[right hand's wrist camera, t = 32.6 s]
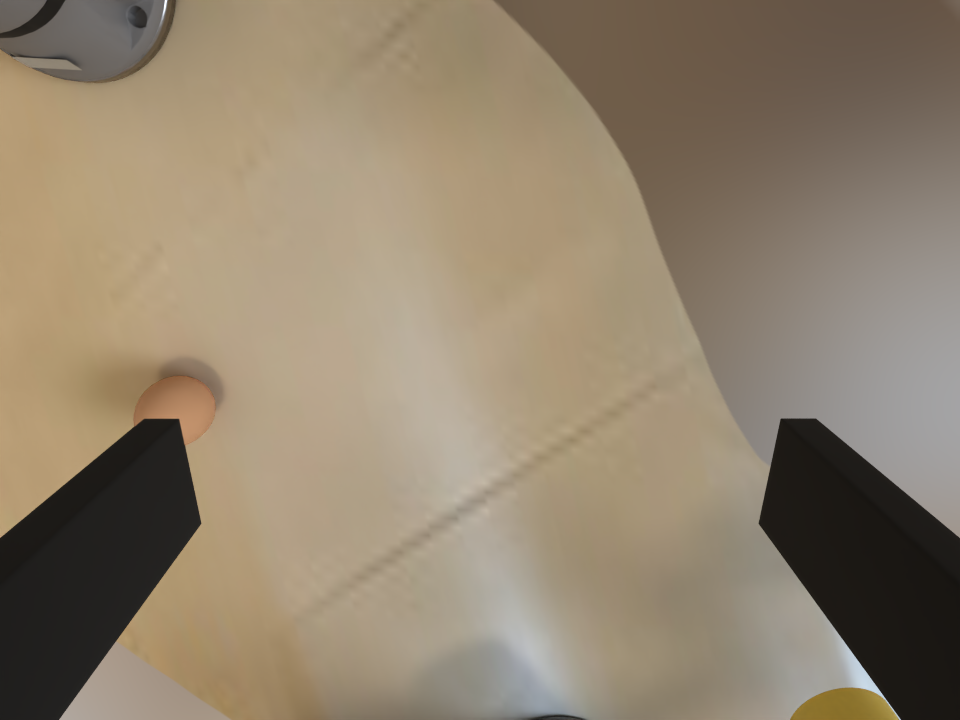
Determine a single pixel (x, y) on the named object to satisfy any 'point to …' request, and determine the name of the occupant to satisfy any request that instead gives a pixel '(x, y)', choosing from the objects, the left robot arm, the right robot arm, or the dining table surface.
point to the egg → (178, 405)
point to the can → (845, 706)
